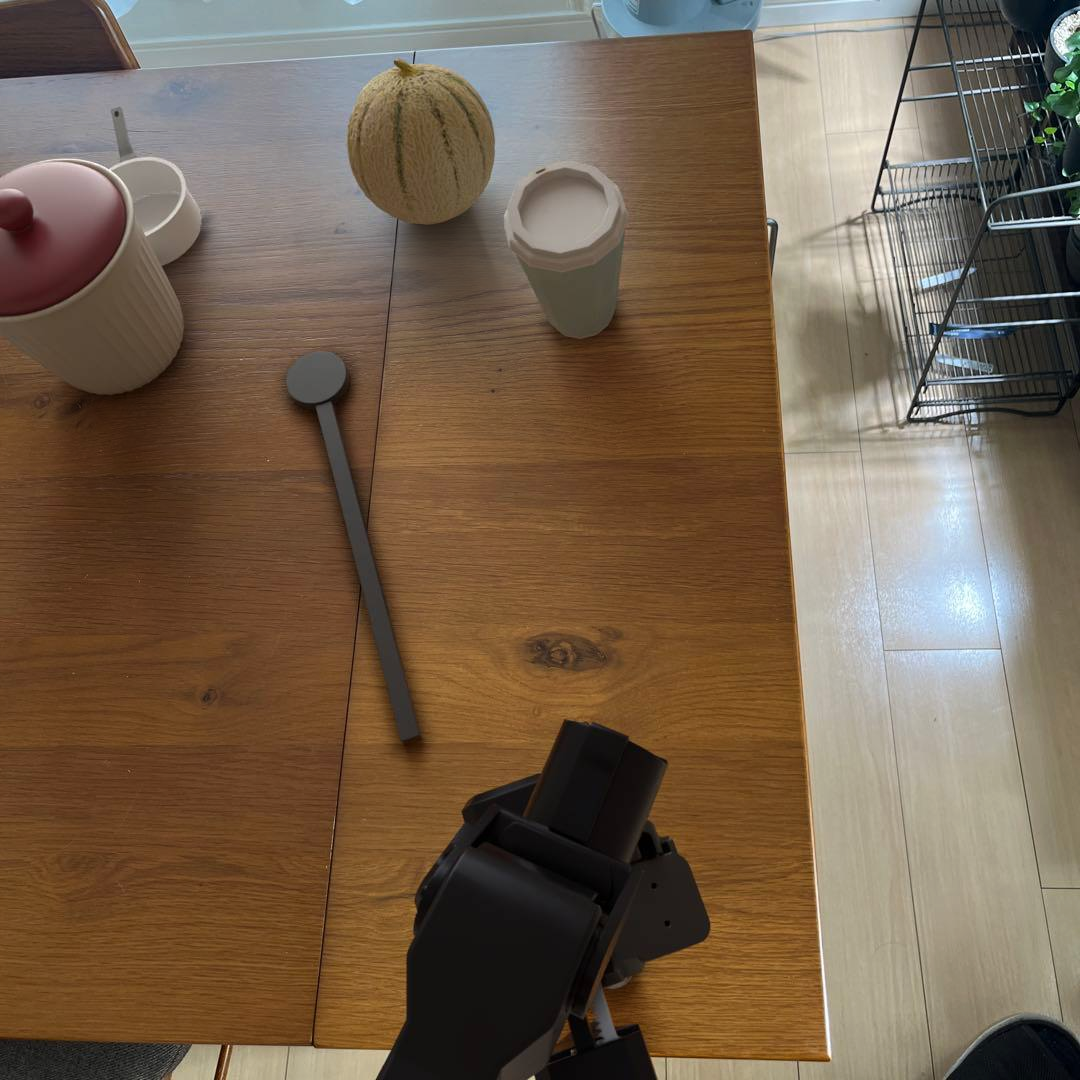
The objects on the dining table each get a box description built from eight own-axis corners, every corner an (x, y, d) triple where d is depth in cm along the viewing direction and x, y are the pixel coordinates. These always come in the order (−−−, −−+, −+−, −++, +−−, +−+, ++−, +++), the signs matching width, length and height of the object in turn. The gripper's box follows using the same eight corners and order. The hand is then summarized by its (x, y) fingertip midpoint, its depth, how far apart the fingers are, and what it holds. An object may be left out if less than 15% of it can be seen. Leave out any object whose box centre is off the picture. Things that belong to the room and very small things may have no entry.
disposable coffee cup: (653, 329, 92) (651, 217, 78) (553, 378, 91) (533, 273, 77) (602, 254, 96) (591, 136, 82) (506, 300, 95) (479, 188, 82)
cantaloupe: (407, 277, 98) (365, 165, 84) (347, 188, 104) (299, 70, 90) (532, 210, 99) (511, 90, 86) (466, 127, 106) (437, 2, 92)
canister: (227, 272, 101) (125, 108, 82) (197, 420, 94) (77, 278, 74) (66, 282, 103) (-70, 124, 84) (25, 427, 96) (-135, 291, 77)
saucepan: (188, 131, 110) (165, 90, 105) (217, 257, 102) (194, 219, 97) (92, 163, 110) (65, 124, 105) (114, 292, 102) (85, 256, 97)
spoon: (448, 729, 78) (445, 725, 77) (378, 753, 78) (373, 750, 77) (342, 350, 95) (338, 343, 94) (284, 369, 95) (280, 362, 94)
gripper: (768, 1091, 44) (743, 1063, 58) (630, 715, 52) (637, 770, 66) (540, 1173, 44) (570, 1125, 58) (435, 782, 52) (484, 823, 66)
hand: (569, 949), depth 62 cm, fingers open, 9 cm apart
